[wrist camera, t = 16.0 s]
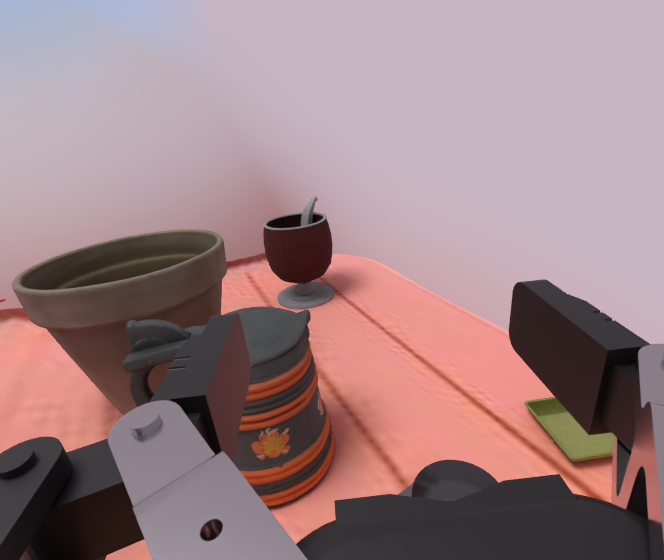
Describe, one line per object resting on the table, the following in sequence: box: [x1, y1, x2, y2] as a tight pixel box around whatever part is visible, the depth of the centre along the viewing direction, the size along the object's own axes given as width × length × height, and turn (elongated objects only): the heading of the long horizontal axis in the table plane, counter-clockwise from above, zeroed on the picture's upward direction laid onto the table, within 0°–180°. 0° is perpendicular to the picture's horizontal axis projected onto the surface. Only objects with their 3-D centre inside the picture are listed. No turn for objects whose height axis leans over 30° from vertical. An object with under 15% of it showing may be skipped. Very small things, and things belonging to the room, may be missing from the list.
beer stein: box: [123, 307, 335, 507], centre depth 40 cm, size 19×15×20 cm
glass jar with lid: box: [412, 460, 498, 501], centre depth 26 cm, size 6×6×11 cm
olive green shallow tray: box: [525, 397, 616, 462], centre depth 42 cm, size 9×9×2 cm
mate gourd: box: [263, 197, 334, 309], centre depth 81 cm, size 16×14×20 cm
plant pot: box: [12, 230, 227, 414], centre depth 55 cm, size 25×25×22 cm
